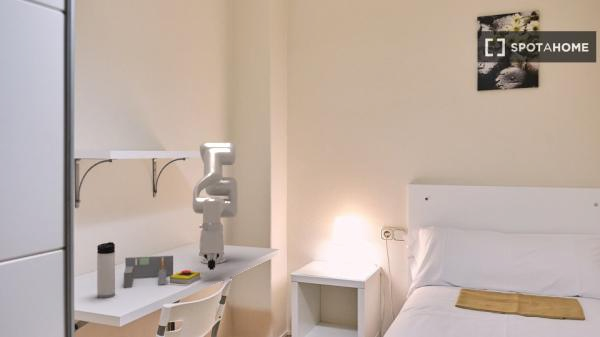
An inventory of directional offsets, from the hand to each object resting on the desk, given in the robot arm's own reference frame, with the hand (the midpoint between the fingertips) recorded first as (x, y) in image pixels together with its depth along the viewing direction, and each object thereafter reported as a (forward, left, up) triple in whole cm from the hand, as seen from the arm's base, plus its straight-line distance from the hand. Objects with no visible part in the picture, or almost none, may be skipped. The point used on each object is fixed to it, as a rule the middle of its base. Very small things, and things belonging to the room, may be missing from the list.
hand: (211, 269), depth 213 cm
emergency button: (-1, -11, -5) cm, 12 cm away
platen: (-1, -20, -5) cm, 21 cm away
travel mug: (+15, -41, -5) cm, 44 cm away
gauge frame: (-3, -26, -4) cm, 26 cm away
